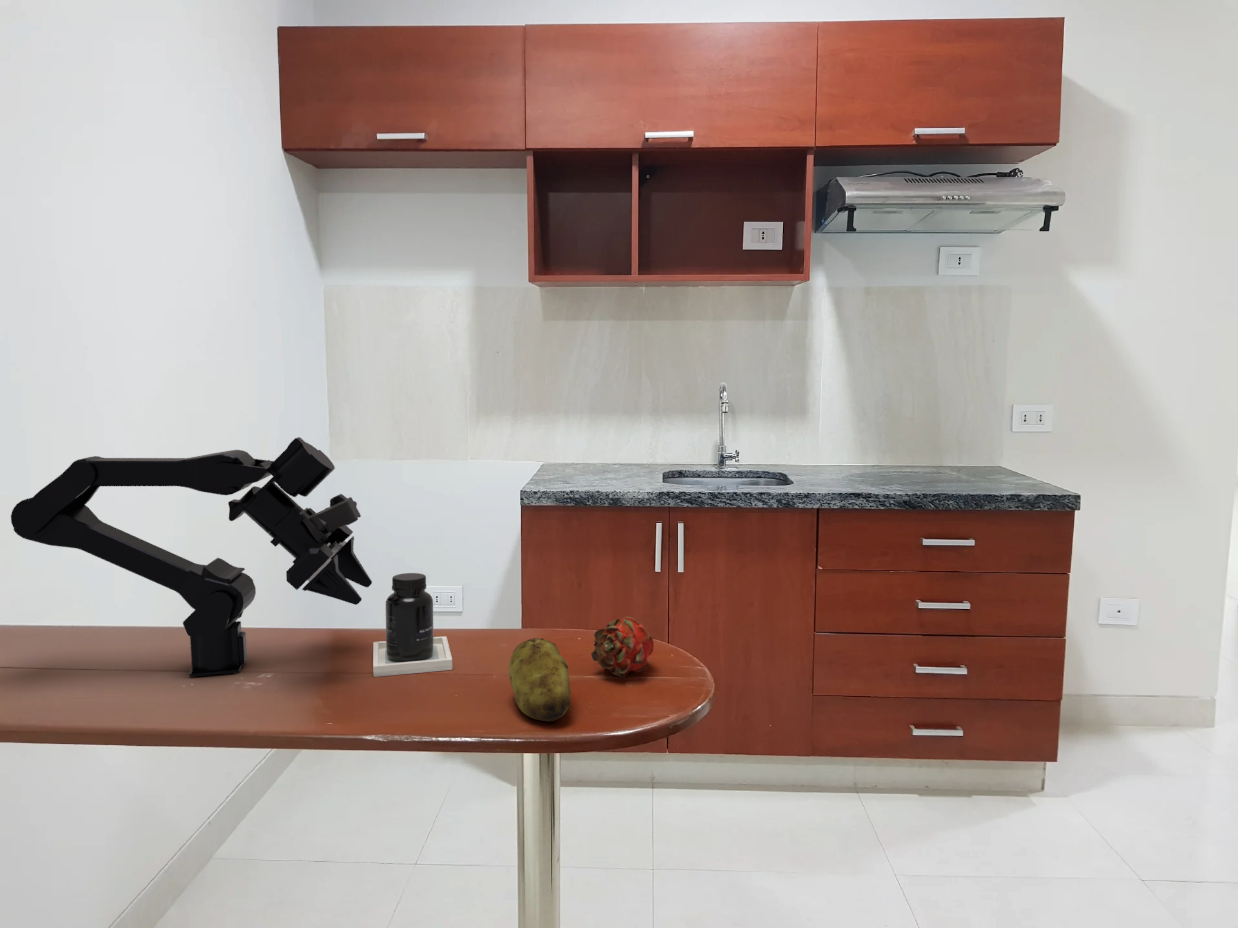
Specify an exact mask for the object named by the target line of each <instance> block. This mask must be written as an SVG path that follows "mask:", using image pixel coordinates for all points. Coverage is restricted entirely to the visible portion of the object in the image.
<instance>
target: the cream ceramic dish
mask: <svg viewBox="0 0 1238 928" xmlns="http://www.w3.org/2000/svg"><path fill="white" fill-rule="evenodd" d="M447 637H448V636H433V642H434V644H433V653H432V655H431V656H430V657H429V658H427V659H424V660H421V661H413V662H397V661H393V660H391V659H389V658H388V656H387V653H386V640H384V641H383V640H382V641H381V640H380V641H373V645H372V646H373V648H372V649H373V651H372V652H373V656H372V657H373V658H372V659H373V661H372V663H373V664H372V666H373V667H372V670H373V672H372V673H373V678H378V677H387V676H389V677H391V676H398V675H411V674H412V675H413V674H420V673H431V672H439V671H440V672H441V671H443V672H444V671H453V657H452V653H451V650H450V645H449V642H448V638H447Z"/></svg>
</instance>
